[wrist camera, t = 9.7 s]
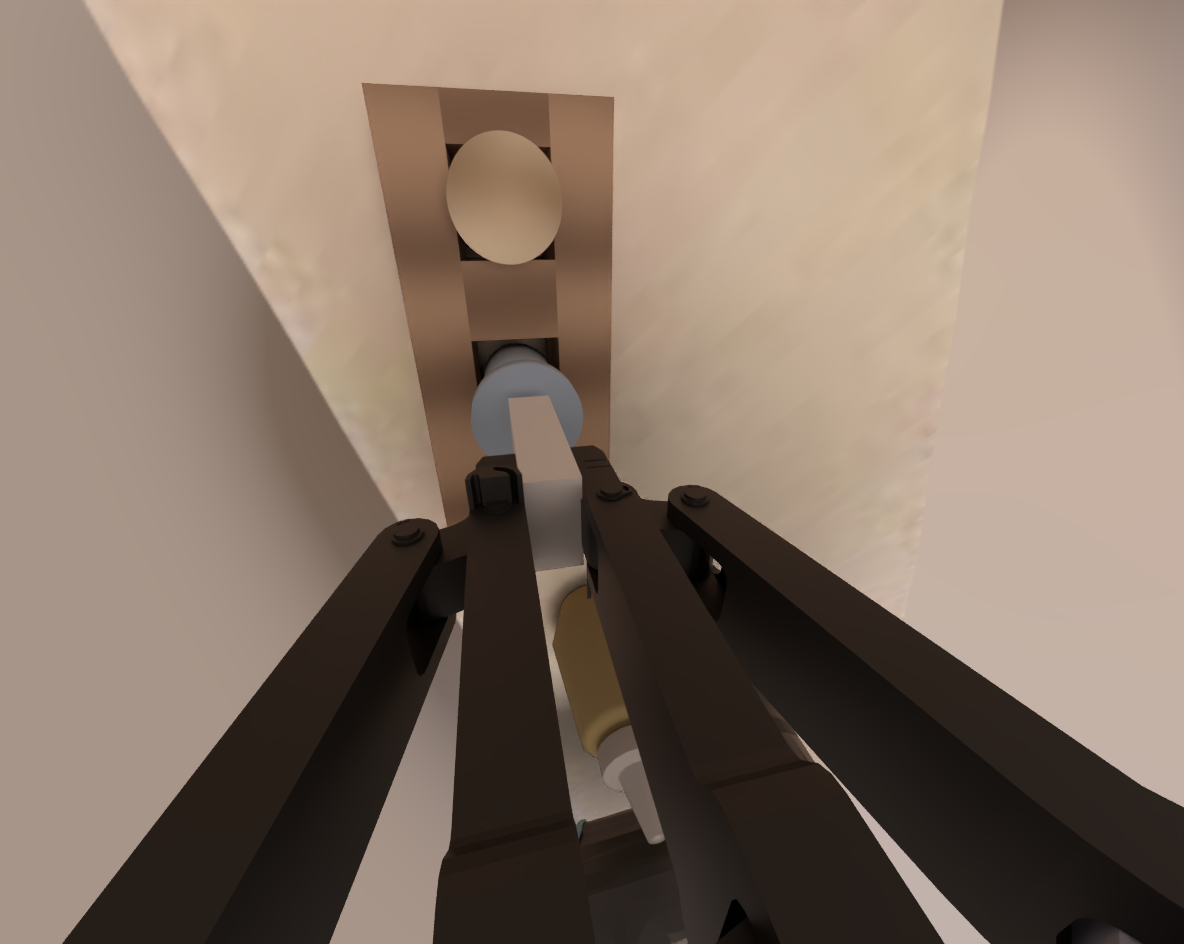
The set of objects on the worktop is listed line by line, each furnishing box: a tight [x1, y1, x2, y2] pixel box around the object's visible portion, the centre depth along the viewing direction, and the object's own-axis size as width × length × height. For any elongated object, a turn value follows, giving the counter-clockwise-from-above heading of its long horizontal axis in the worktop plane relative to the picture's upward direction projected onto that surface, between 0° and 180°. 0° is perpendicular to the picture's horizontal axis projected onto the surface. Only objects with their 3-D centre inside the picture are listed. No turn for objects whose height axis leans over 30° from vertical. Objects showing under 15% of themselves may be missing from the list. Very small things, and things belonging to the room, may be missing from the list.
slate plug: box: [471, 343, 583, 456], centre depth 21 cm, size 5×5×7 cm
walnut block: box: [362, 83, 614, 554], centre depth 26 cm, size 24×10×6 cm, turn 1°
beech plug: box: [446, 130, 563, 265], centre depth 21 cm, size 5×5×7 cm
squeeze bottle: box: [552, 585, 665, 844], centre depth 32 cm, size 8×8×18 cm
